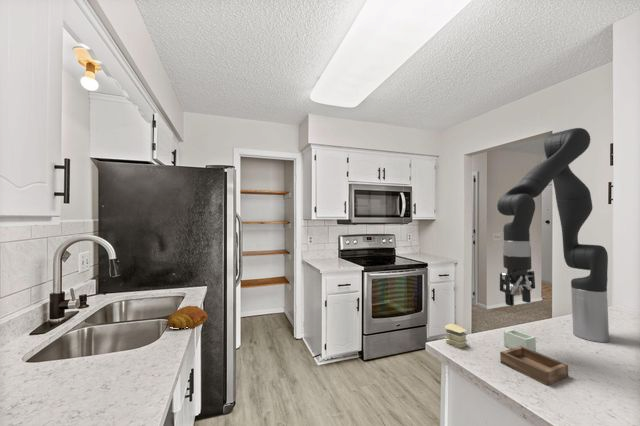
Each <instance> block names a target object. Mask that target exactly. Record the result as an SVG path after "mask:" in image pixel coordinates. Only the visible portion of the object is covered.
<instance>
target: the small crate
mask: <svg viewBox="0 0 640 426" xmlns="http://www.w3.org/2000/svg"><path fill="white" fill-rule="evenodd" d="M536 339H537V338H536V336H533V335H530V334H528V333H524V332H522V331H519V330H516V329H514V328H511V329H508V330H505V331H503V344H504V345H503V346H504V347H505V348H507V347H508V348H507V349H509V348H510V349H512V348H516V347H519V346H522V347H525V348H527V349H530V350H532V351H535V352H537V347H536V345H537V342H536Z"/></svg>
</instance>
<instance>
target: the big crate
mask: <svg viewBox="0 0 640 426" xmlns="http://www.w3.org/2000/svg"><path fill="white" fill-rule="evenodd" d="M499 354H500V364H502V365H505V366H506V367H509V368H510V369H512V370H515V371H516V372H518V373H520V374H522V375H525V376H527V377H528V378H531V379H533V380H535V381H538V382H539V383H541V384H543V385H545V386H549V385H552V384H554V383H556V382H559V381H561V380H564V379H567V378H569V365H568V364H567V363H565V362H562V361H560V360H556V359H555V358H552V357H549V356H547V355H544V354H542V353H540V352H537V351H536V352H535V351H532V350H530V349H527V348H525V347H522V346H519V347H516V348H512V349H509V348H508V349H505V350H502V351H500V352H499Z"/></svg>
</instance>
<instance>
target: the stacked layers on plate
mask: <svg viewBox="0 0 640 426" xmlns="http://www.w3.org/2000/svg"><path fill="white" fill-rule="evenodd" d="M444 328H445V329H444V332H445V335H444V338H445V343H447V344H448V345H453V347H454V346H455V347H457V348H459V349H461V348H464V347H466V346H467V342H468V340H467V336H468V333H465V332H467V329H465V328H464V327H462V326H460V325H458V324H455V323H449V324H447V325H444ZM446 339H449V340H446Z"/></svg>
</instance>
